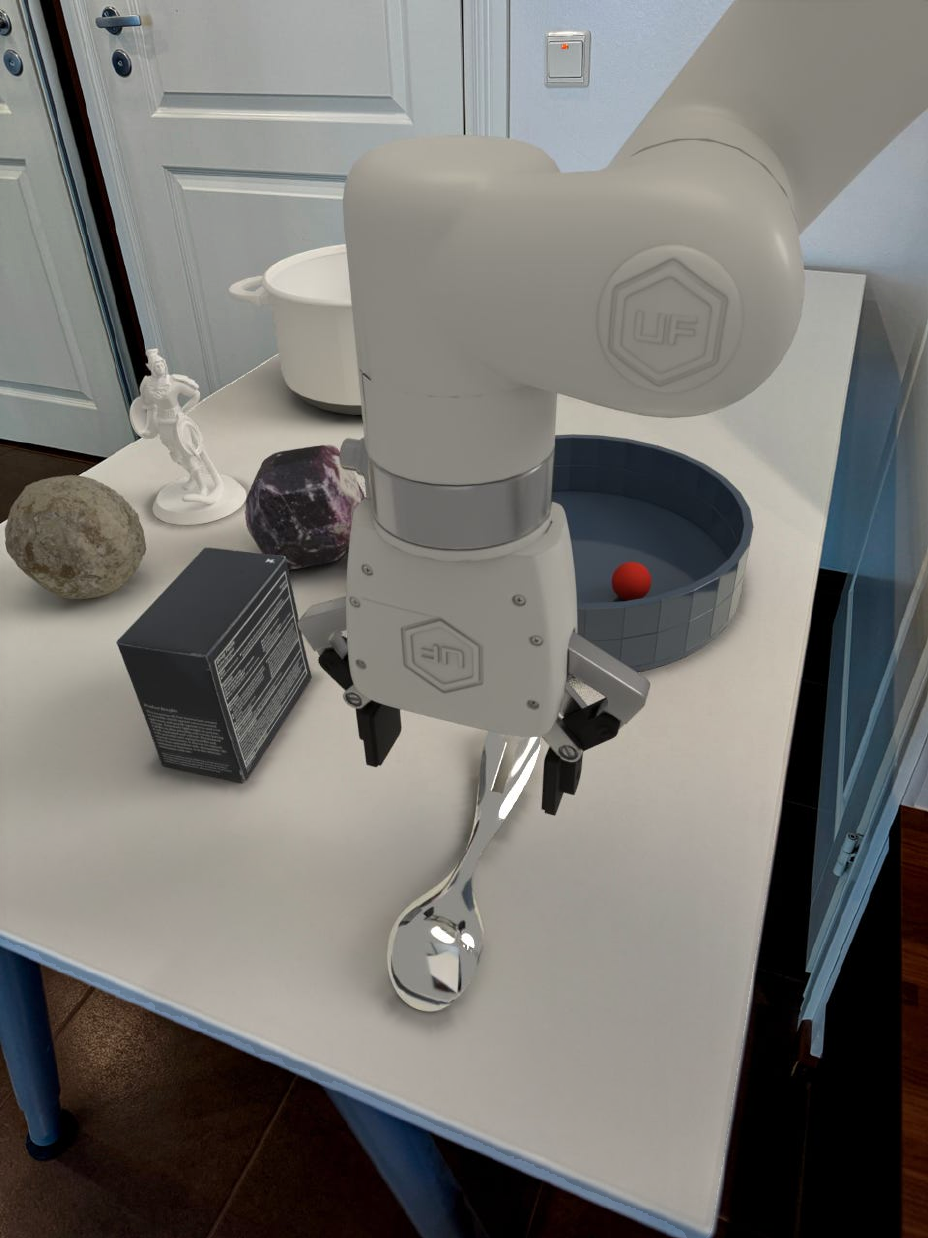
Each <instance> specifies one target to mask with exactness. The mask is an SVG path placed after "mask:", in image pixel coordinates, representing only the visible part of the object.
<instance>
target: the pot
mask: <svg viewBox="0 0 928 1238" xmlns="http://www.w3.org/2000/svg"><path fill="white" fill-rule="evenodd" d="M255 287H256V288H257V287H258V288H257V289H256V290H254V291H251V290H248V289H252V288H255ZM228 295H229V296H230V298H231V299H233V300H236V301H238V302H245V303H250V304H251V305H252V306H253V307H263V306H264V305H270V311H271V315H272V316H271V318H272V323H273V329H274V336H275V340H276V341H275V342H276V347H277V353H278V360H279V366H280V370H281V373H282V377H283V379H284V382H285V384H286V385H287V386H288V388H289V389H290V390H291V391H292V392H293V393H294V394H295V395H296V396H297V397H298V398H299V399H301V400H303V401H305V402H306V403H308V404H309V405H311V406H312V407H315V408H318V409H320V410H324V411H326V412H331V413H337V414H343V415H354V416H362V408H361V397H360V387H359V377H358V366H357V356H356V345H355V335H354V324H353V314H352V304H351V293H350V283H349V272H348V262H347V251H346V243H341V244H336V245H328V246H324V247H319V248H314V249H311V250H306V251H303V252H300V253H296V254H293V255H290V256H287V257H286V258H283V259H281V260H279V261H277V262H276V263H275V264H274V263H273V265H271V266H269V267H268V268H266V270H265V271H264V272H263V274H262V275H255V276H251V277H246V278H243V279H241V280H239V281H236V282H234V283H232V284H231V285H230V286H229V288H228Z"/></svg>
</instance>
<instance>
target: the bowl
mask: <svg viewBox="0 0 928 1238" xmlns="http://www.w3.org/2000/svg"><path fill="white" fill-rule="evenodd" d="M552 502H555V503H558V504H560V505H561V506H562V507H563V509H564V511H565V514H566V519H567V523H568V528H569V533H570V539H571V545H572V553H573V561H574V569H575V580H576V595H577V634H578V635H580V636H582V637H583V638H585V639H586V640H588V641H589V642H591V643H592V644H594V645H596V646H597V647H599V648H600V649H602V650H603V651H605V652H606V653H608V654H610V655H611V656H613V657H614V658H616V659H617V660H619V661H620V662H622V663H624V664H625V665H627V666H628V667H630V668H631V669H633V670H634V671H636V672H638V673H639V672H644V671H648V670H653V669H655V668H659V667H662V666H665V665H669V664H672V663H674V662H676V661H679V660H681V659H683V658H685V657H688V656H690V655H691V654H693V653H695V652H697V651H699V650H700V649H702V648H704V647H706V645H708V644H709V643H710V642H711V641H713V640H715V638H717V637H718V636H719V635H720V634H721V633H722V631H724V629H725V628H726V627H727V626H728V625H729V623H730V622H731V620H732V619H733V617H734V615H735V614H736V611H737V609H738V606H739V603H740V600H741V595H742V589H743V585H744V581H745V575H746V570H747V564H748V559H749V553H750V549H751V544H752V543H751V542H752V538H753V533H754V522H753V515H752V511H751V507H750V506H749V504H748V502H747V500H746V499H745V497H744V495H743V494H742V492H741V491H740V490H739V489H738V488H737V487H736V486H735V485H734V484H733V483H732V482H731V481H730V479H728V478H727V477H726V476H724V475H723V474H721V473H720V472H718V471H717V470H715V469H713V468H712V467H711V466H709V465H707V463H704V462H702V461H700V460H697V459H696V458H693V457H691V456H689V455H687V454H685V453H683V452H680V451H677V450H673V449H670V448H668V447H664V446H662V445H659V444H654V443H650V442H644V441H640V440H635V439H630V438H626V437H625V438H624V437H618V436H617V437H616V436H610V435H600V434H573V433H571V434H555V457H554V477H553V498H552ZM627 562H636V563H639V564H641V565H643V566H644V567H645V568H647V570H648V571H649V573H650V575H651V587H650V590H649V592H648V593H647V594H646V595H645V596H644V597H643V598H641V599H635V600H629V601H626V600H623V599H621V598H620V597H619V596H617V595H616V593H615V592H614V590H613V588H612V576H613V573H614V572H615V570H616V569H617V568H618V567H619V566H620V565H622V564H624V563H627ZM573 677H574V676H573ZM573 677H572V678H573ZM574 678H575V677H574Z"/></svg>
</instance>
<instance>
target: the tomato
mask: <svg viewBox="0 0 928 1238" xmlns="http://www.w3.org/2000/svg"><path fill="white" fill-rule="evenodd" d="M650 587H651V575H650V573H649V571H648V570H647V568H645V567H644V566H643V565H641V564H639V563H636V562H627V563H624V564H622V565H620V566H619V567H618V568H617V569H616V570H615V572H614V573H613V576H612V588H613V590H614V592H615V593H616V595H617V596H619V597H620V598H621V599H623V600H626V601H629V600H635V599H641V598H643V597H644V596H645V595H646V594H647V593H648V592H649V590H650Z"/></svg>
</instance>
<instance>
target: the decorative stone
mask: <svg viewBox="0 0 928 1238" xmlns="http://www.w3.org/2000/svg"><path fill="white" fill-rule="evenodd" d="M140 521H141V520H140V517H139V513H138V512H136V509H134V508H133V506H132V505H131V504H130V503H129V502H128V501H127V500H126V499H125V498H124V496H123V495H121V494H120V493H118V492H117V490H115V489H113V488H112V487H110V486H108V485H106V484H104V483H103V482H101V481H98V480H96V479H94V478H91V477H87V476H82V475H77V474H73V475H72V474H69V475H62V476H52V477H48V478H44V479H43V478H42V479H39V480H38V481H33V482H31V483H29V484H28V485H25V486H24V489H23V490H22V492H21V493H20V494H19V496H18V497H17V498H16V500H15V501H14V503H12V505H11V506H10V510H9V514H8V517H7V519H6V524H5V527H4V538H5V542H4V545H5V549H6V553H8V555H9V557H10V558H11V560H13V561H14V563H15V565H16V566H17V567H18V568H19V569H20V570H21V571H22V572H23V573H24V574H25V575H26V576H28V577H29V578H30V579H32V580H33V581H35V582H36V583H37V584H38V585H39V586H41V587H42V588H43V589H45V590H46V591H49V592H50V593H52V594H54V595H55V596H58V597H61V598H64V599H65V598H66V599H70V600H72V599H73V600H80V599H81V600H85V599H95V598H98V597H99V598H100V597H103V596H107V595H109V594H112V593H115V592H116V591H118V590H119V589H120V588H122V587H123V585H124V584H125V583H126V582H128V581H129V580H130V579H131V578H132V577H133V575H134V574H135V573H136V572H137V570H138V569H139V567H140V565H141V563H142V561H143V559H144V556H145V555H146V552H147V543H146V537H145V531H144V528H143V526H142V524H141V522H140Z"/></svg>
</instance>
